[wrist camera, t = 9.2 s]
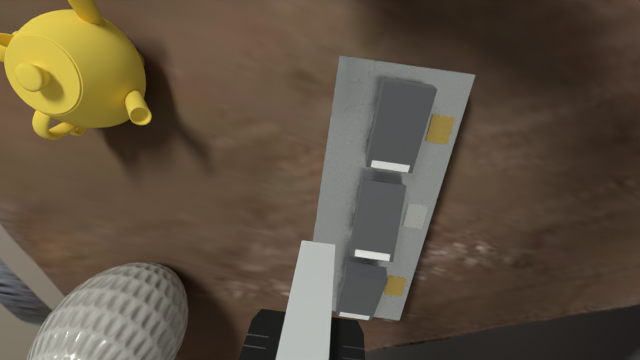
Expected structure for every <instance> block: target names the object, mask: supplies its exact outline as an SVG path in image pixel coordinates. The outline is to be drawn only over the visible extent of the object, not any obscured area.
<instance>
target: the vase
mask: <svg viewBox="0 0 640 360" xmlns="http://www.w3.org/2000/svg"><path fill="white" fill-rule="evenodd" d="M187 322H188V300H187V295H186V291H185V288H184V286H183V284H182V282H181V280H180V279H179V277H178V276H177V274H176V273H175V272H174V271H173V270H171V269H170V268H168V267H166V266H164V265H161V264H157V263H150V262H139V263H129V264H125V265H120V266H116V267H113V268H110V269H108V270H106V271H104V272H101V273H99V274H97V275H95V276H93V277H91V278H90V279H88V280H87V281H85V282H84V283H82V284H81V285H79V286H78V287H76V288H75V289H74V290H73V291H72V292H71V293H69V294H68V295H67V296H66V297H65V298H64V299H63V300H62V301H61V302H60V303H59V305H57V307H56V308H55V309H54V310H53V311H52V312H51V313H50V314H49V316H48V317H47V318H46V320H45V321H44V323H43V325H42V326H41V328H40V329H39V331H38V334H37V335H36V337H35V339H34V342H33V344H32V346H31V348H30V351H29V355H28V358H27V360H174V358H175V356H176V354H177V352H178V351H179V348H180V346H181V344H182V341H183V338H184V336H185V333H186V328H187Z"/></svg>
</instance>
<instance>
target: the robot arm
mask: <svg viewBox="0 0 640 360" xmlns="http://www.w3.org/2000/svg"><path fill="white" fill-rule="evenodd" d="M334 258H335V245H334V244H326V243H317V242H309V241H302V242H301V247H300V251H299V256H298V261H297V265H296V270H295V274H294V279H293V283H292V288H291V292H290V297H289V301H288V306H287V310H286V312H281V311H274V310H266V309H261V310H260V311H259V312H258V313H257V315H256V316H255V317H254V318H253V319H252V321H251V324H250V327H249V330H248V334H247V336H246V339H245V342H244V346H243V348H242V351H241V354H240V357H239V360H365V351H364V333H363V331H362V329H361V327H360V325H359V323H358V321H357V320H349V319H341V318H334V317H331V312H332V294H333V276H334Z"/></svg>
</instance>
